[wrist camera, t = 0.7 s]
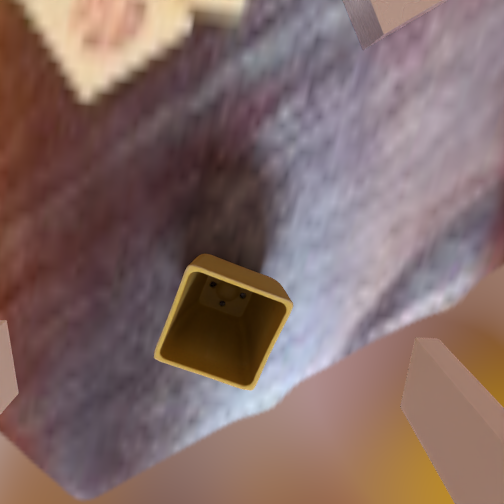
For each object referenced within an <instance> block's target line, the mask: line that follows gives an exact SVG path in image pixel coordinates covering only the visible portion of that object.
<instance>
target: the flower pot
mask: <svg viewBox="0 0 504 504" xmlns="http://www.w3.org/2000/svg"><path fill="white" fill-rule="evenodd" d="M211 282H215V283H216V286H214V287H212V286H211V285H210V283H211ZM241 293H245V297H244V298H241V297H240V294H241ZM221 301H224V302H225V305H224V306H221V305H220V302H221ZM292 308H293V302H292V301H291V300H290V298H289V296H288V295H287V293H286V292H285V290H284V289H283V287H282V286H281V284H280V283H279V282H277V281H276V280H275V279H273V278H270V277H268V276H265V275H263V274H260V273H257V272H255V271H252V270H249V269H247V268H244V267H241V266H239V265H236V264H233V263H231V262H228V261H226V260H223V259H221V258H218V257H216V256H213V255H211V254H201V255H199V256H198V257H197V258H195V259H194V260H193V261H192V262H191V263H190V264H189V265H188V266H187V268H186V269H185V272H184V275H183V278H182V280H181V283H180V286H179V289H178V291H177V294H176V297H175V300H174V302H173V305H172V307H171V310H170V313H169V315H168V318H167V321H166V323H165V326H164V328H163V331H162V333H161V336H160V338H159V341H158V343H157V346H156V349H155V352H154V358H155V359H156V360H158V361H161V362H163V363H166V364H169V365H172V366H175V367H178V368H182V369H185V370H187V371H191V372H194V373H197V374H200V375H203V376H206V377H209V378H211V379H214V380H217V381H220V382H222V383H225V384H228V385H231V386H234V387H237V388H240V389H244V390H253V389H254V388H255V386H256V384H257V382H258V380H259V377H260V375H261V373H262V370H263V368H264V366H265V364H266V362H267V359H268V357H269V355H270V353H271V351H272V349H273V346H274V344H275V342H276V341H277V339H278V337H279V335H280V333H281V331H282V329H283V327H284V325H285V323H286V321H287V319H288V317H289V315H290V313H291V311H292Z"/></svg>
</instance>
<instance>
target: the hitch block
mask: <svg viewBox="0 0 504 504" xmlns="http://www.w3.org/2000/svg"><path fill="white" fill-rule="evenodd" d="M342 1H343V3H344V5H345V8H346V10H347V13H348V15H349V18H350V20H351V22H352V25H353V27H354V30H355V32H356V35H357V37H358V39H359V42H360V44H361V47H362V49H363V50H365V49H366V48H368V47H370V46H372V45H373V44H375V43H377V42H378V41H380V40H382V39H383V38H385V37H387V36H389V35H390V34H392V33H394V32H395V31H397V30H399V29H400V28H402V27H404V26H406V25H407V24H409V23H411V22H412V21H414V20H416V19H417V18H419V17H421V16H423V15H424V14H426V13H428V12H429V11H431V10H433V9H434V8H436V7H438V6H440V5H441V4H443V3H445V2H446V1H448V0H342Z"/></svg>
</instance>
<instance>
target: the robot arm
mask: <svg viewBox="0 0 504 504" xmlns="http://www.w3.org/2000/svg"><path fill="white" fill-rule="evenodd" d="M17 395H18V387H17V381H16V375H15V369H14V363H13V356H12V350H11V344H10V338H9V332H8V326H7V321H5V320H0V414H1V413H2V412H3V411H4V409H5V408H6V407H7V406H8V405H9V404H10V403H11V401H12V400H13V399H14V398H15V397H16V396H17ZM400 407H401V409H402V411H403V412H404V414H405V416H406V418H407V420H408V421H409V423H410V425H411V426H412V428H413V430H414V432H415V434H416V436H417V437H418V439H419V441H420V443H421V444H422V446H423V448H424V450H425V451H426V453H427V455H428V457H429V458H430V460H431V462H432V464H433V466H434V467H435V469H436V471H437V473H438V474H439V476H440V478H441V480H442V481H443V483H444V485H445V487H446V489H447V490H448V492H449V494H450V495H451V497H452V499H453V501H454V503H455V504H504V408H503V407H502V406H501V405H500V404H499V403H498V401H497V400H496V399H495V398H494V397H493V396H492V395H491V394H490V393H489V392H488V391H487V390H486V389H485V388H484V387H483V386H482V384H480V382H479V381H478V380H477V379H476V378H475V377H474V376H473V375H472V374H471V373H470V372H469V371H468V370H467V369H466V367H465V366H464V365H463V364H462V363H461V362H460V361H459V360H458V359H457V358H456V357H455V356H454V355H453V354H452V353H451V352H450V350H449V349H447V348H446V346H445V345H444V344H443V343H442V342H441V341H440V340H439V339H436V338H415V342H414V346H413V351H412V355H411V360H410V365H409V369H408V374H407V379H406V383H405V388H404V393H403V397H402V402H401V406H400Z"/></svg>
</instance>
